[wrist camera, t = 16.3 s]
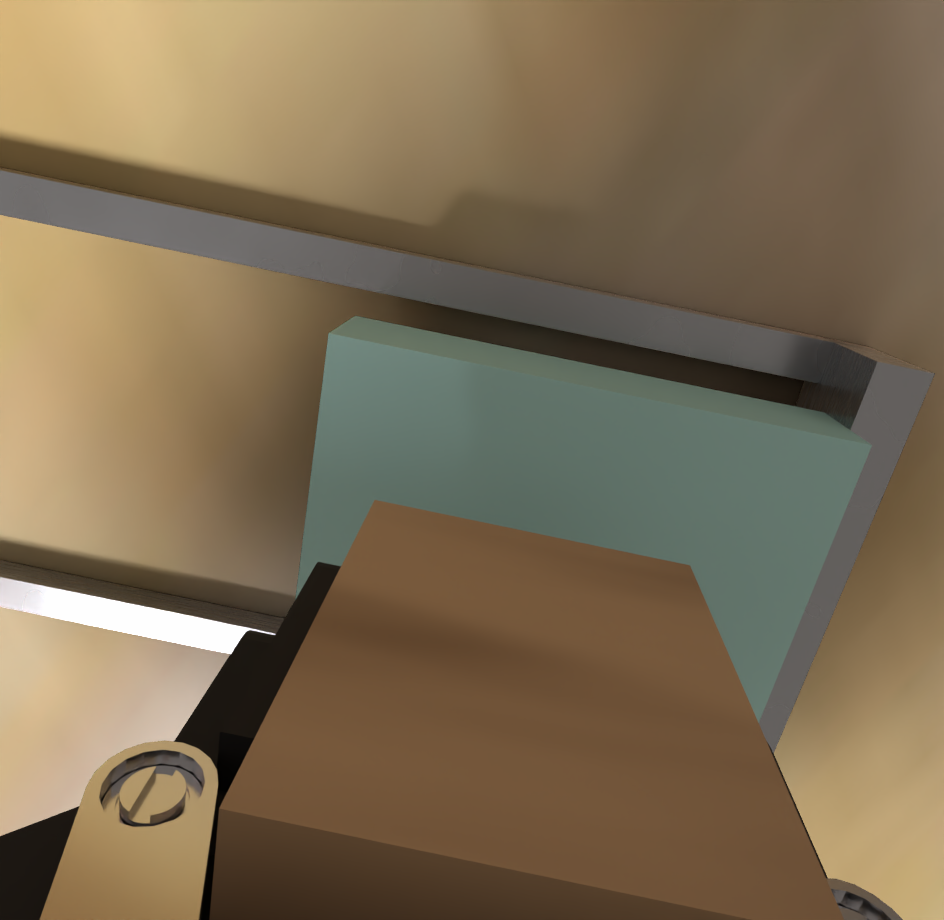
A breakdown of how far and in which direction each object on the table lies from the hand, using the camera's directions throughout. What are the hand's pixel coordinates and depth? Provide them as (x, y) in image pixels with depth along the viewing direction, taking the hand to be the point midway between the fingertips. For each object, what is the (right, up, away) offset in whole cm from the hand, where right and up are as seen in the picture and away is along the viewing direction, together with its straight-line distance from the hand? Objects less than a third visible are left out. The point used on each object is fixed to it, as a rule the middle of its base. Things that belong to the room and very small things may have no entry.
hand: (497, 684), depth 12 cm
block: (0, 0, 0) cm, 1 cm away
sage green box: (+2, +2, +8) cm, 8 cm away
